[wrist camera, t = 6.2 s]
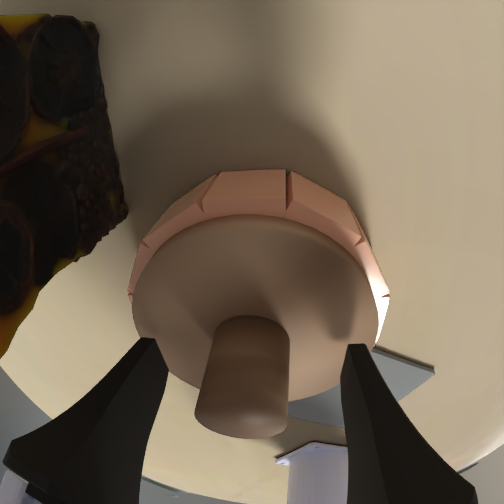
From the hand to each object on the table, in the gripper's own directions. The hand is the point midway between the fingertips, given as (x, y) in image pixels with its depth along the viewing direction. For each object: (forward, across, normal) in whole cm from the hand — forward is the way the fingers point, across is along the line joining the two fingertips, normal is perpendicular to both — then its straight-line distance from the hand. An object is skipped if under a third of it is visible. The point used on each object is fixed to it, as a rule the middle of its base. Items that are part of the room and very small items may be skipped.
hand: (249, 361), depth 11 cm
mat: (+5, -6, +11) cm, 13 cm away
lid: (+2, 0, 0) cm, 2 cm away
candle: (+6, +11, -9) cm, 15 cm away
